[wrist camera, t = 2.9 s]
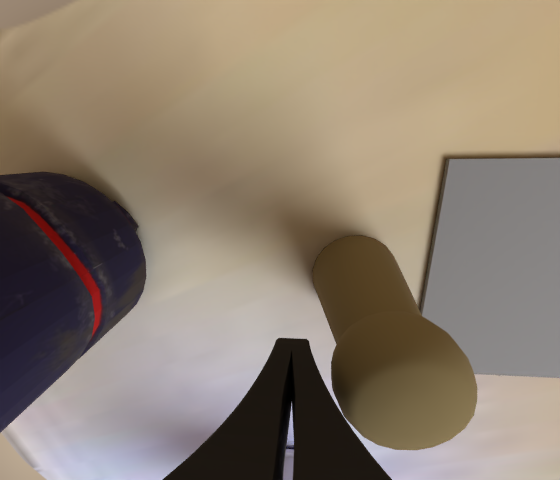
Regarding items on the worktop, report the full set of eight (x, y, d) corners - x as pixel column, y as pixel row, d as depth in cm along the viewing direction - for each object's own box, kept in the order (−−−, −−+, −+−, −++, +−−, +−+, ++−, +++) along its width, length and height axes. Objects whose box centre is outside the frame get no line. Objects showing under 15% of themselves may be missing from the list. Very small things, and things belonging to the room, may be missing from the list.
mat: (571, 374, 21) (576, 378, 20) (410, 367, 21) (412, 371, 21) (662, 156, 16) (671, 156, 15) (446, 159, 16) (449, 159, 16)
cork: (307, 306, 20) (313, 466, 10) (318, 230, 19) (339, 332, 8) (387, 315, 20) (478, 490, 10) (406, 240, 18) (545, 358, 8)
